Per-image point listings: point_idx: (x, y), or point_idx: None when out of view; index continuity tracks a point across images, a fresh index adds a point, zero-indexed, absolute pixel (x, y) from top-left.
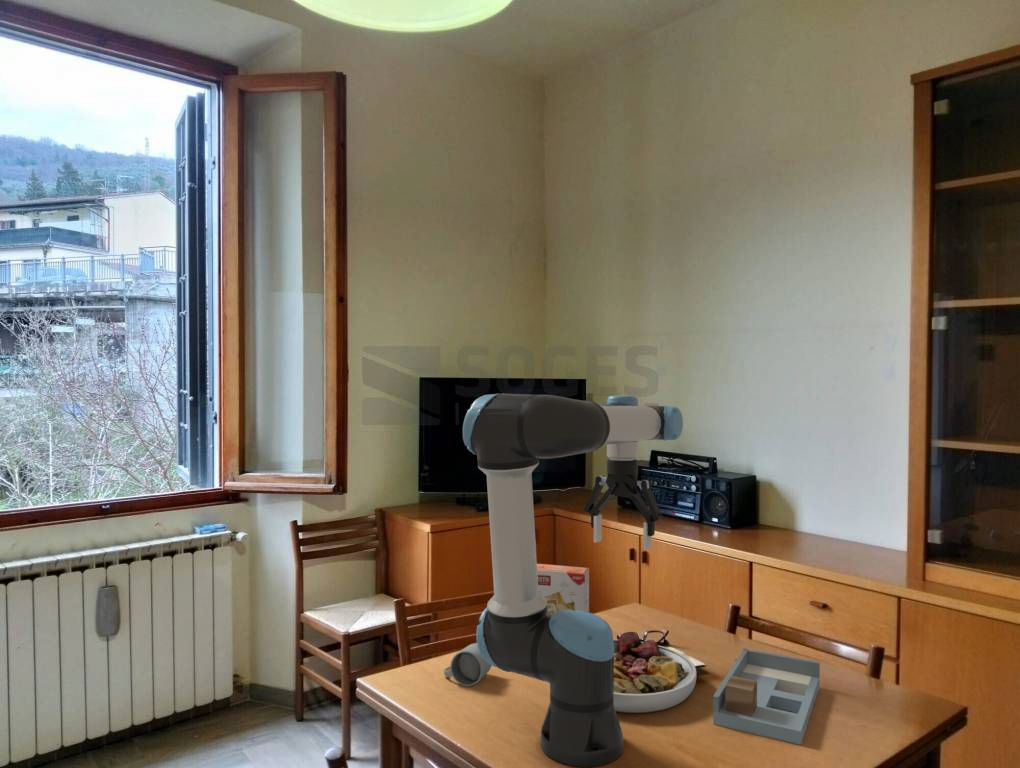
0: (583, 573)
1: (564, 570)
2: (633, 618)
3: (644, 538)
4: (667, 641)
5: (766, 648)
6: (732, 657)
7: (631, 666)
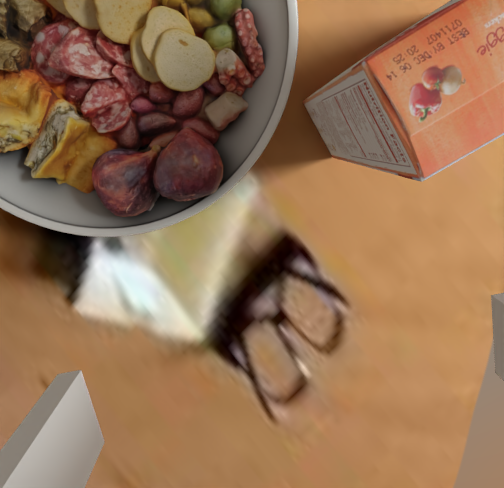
0: (373, 62)
1: (495, 8)
2: (390, 425)
3: (29, 430)
4: (227, 361)
5: None
6: None
7: (130, 103)
